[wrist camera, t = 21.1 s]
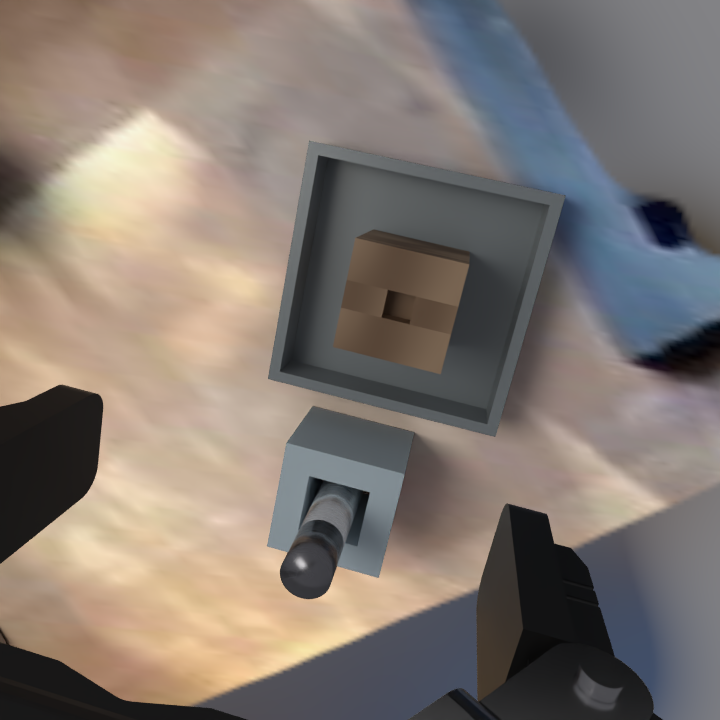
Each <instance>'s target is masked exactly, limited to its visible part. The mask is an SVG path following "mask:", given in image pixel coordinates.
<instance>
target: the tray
mask: <svg viewBox="0 0 720 720" xmlns="http://www.w3.org/2000/svg"><path fill="white" fill-rule="evenodd" d="M564 199H565V195H560V194H556V193H551V192H546V191H542V190H537V189H532V188H528V187H523V186H518V185H514V184H509V183H504V182H500V181H495V180H490V179H486V178H481V177H476V176H472V175H467V174H462V173H458V172H453V171H448V170H444V169H439V168H434V167H430V166H425V165H420V164H416V163H411V162H406V161H402V160H397V159H392V158H388V157H383V156H378V155H374V154H369V153H364V152H360V151H355V150H350V149H346V148H341V147H336V146H332V145H327V144H322V143H318V142H313V141H309V145H308V150H307V156H306V162H305V168H304V174H303V179H302V185H301V191H300V197H299V202H298V208H297V214H296V220H295V226H294V231H293V237H292V243H291V249H290V255H289V260H288V266H287V272H286V278H285V284H284V289H283V295H282V301H281V307H280V312H279V318H278V324H277V330H276V336H275V341H274V347H273V353H272V359H271V365H270V370H269V376H268V379H270V380H274V381H278V382H282V383H286V384H290V385H294V386H298V387H302V388H306V389H310V390H314V391H317V392H321V393H325V394H329V395H333V396H337V397H341V398H345V399H349V400H353V401H357V402H361V403H365V404H368V405H372V406H376V407H380V408H384V409H388V410H392V411H396V412H400V413H404V414H408V415H412V416H415V417H419V418H423V419H427V420H431V421H435V422H439V423H443V424H447V425H451V426H455V427H459V428H463V429H466V430H470V431H474V432H478V433H482V434H486V435H490V436H494V437H495V436H496V433H497V429H498V426H499V422H500V419H501V415H502V412H503V409H504V405H505V402H506V398H507V395H508V391H509V388H510V385H511V381H512V378H513V374H514V371H515V367H516V364H517V361H518V357H519V354H520V350H521V347H522V343H523V340H524V337H525V333H526V330H527V326H528V323H529V319H530V316H531V313H532V309H533V306H534V302H535V299H536V295H537V292H538V289H539V285H540V282H541V278H542V275H543V271H544V268H545V265H546V261H547V258H548V254H549V251H550V247H551V244H552V241H553V237H554V234H555V230H556V227H557V223H558V220H559V216H560V213H561V210H562V206H563V203H564ZM373 229H374V230H378V231H383V232H387V233H391V234H396V235H400V236H404V237H409V238H413V239H417V240H422V241H426V242H430V243H435V244H439V245H443V246H447V247H452V248H456V249H460V250H465V251H469V252H470V259H469V268H468V272H467V275H466V279H465V283H464V287H463V291H462V294H461V298H460V302H459V306H458V310H457V314H456V317H455V321H454V325H453V329H452V333H451V336H450V340H449V344H448V348H447V352H446V356H445V359H444V363H443V367H442V371H441V374H438V373H434V372H430V371H426V370H422V369H418V368H414V367H410V366H406V365H402V364H398V363H394V362H390V361H386V360H382V359H378V358H374V357H370V356H366V355H362V354H358V353H354V352H350V351H347V350H343V349H339V348H335V347H333V343H334V339H335V334H336V329H337V324H338V319H339V314H340V310H341V305H342V300H343V295H344V290H345V285H346V281H347V276H348V271H349V266H350V261H351V256H352V252H353V247H354V242H355V238H356V237H358V236H360V235H363V234H365V233H367V232H369V231H371V230H373Z"/></svg>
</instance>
